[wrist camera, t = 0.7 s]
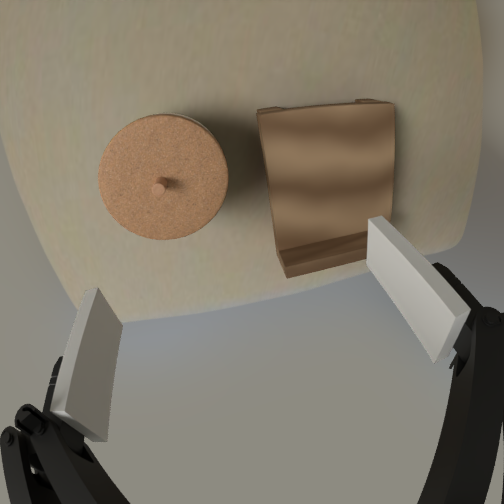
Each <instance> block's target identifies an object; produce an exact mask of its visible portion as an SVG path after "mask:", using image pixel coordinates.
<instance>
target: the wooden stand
mask: <svg viewBox="0 0 504 504" xmlns="http://www.w3.org/2000/svg"><path fill="white" fill-rule="evenodd" d="M355 101H356V103H340V104H327V105H315V106H305V107H297V108H288V109H281V108H278V107H270V108H263V109H257V113H256V114H257V121H258V127H259V133H260V140H261V146H262V153H263V159H264V166H265V173H266V179H267V186H268V193H269V200H270V207H271V215H272V222H273V229H274V237H275V244H276V252H277V256H278V258H279V261H280V263H281V266H282V268H283V271H284V273H285V275H286V278H291V277H295V276H300V275H304V274H308V273H312V272H316V271H320V270H324V269H328V268H332V267H336V266H340V265H344V264H348V263H352V262H356V261H359V260H363V259H367V242H368V219H370V218H374V217H378V216H383V217H384V218H385V219H386V220H387V221H388V222H389V223H390V221H391V211H392V198H393V183H394V160H395V110H394V104H393V103H389V102H381V101H377V100H373V99H355Z"/></svg>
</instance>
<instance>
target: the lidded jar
mask: <svg viewBox="0 0 504 504" xmlns="http://www.w3.org/2000/svg"><path fill="white" fill-rule="evenodd" d="M228 181H229V175H228V166H227V162H226V158H225V155H224V153H223V150H222V148H221V146H220V145H219V143H218V142H217V140H216V139H215V137H214V136H213V135H212V133H211V132H210V131H209V130H208V129H207V128H206V127H205V126H203V125H202V124H201V123H200V122H198V121H196V120H194V119H192V118H190V117H187V116H185V115H181V114H176V113H159V114H153V115H150V116H146V117H143V118H140V119H138V120H136V121H134V122H132V123H130V124H128V125H127V126H126V127H124V128H123V129H122V130H120V131H119V132H118V133H117V134H116V135H115V136H114V137H113V138H112V140H111V141H110V143H109V144H108V146H107V147H106V149H105V151H104V153H103V155H102V158H101V162H100V165H99V173H98V182H99V189H100V194H101V197H102V200H103V202H104V204H105V206H106V208H107V209H108V211H109V213H110V214H111V215H112V216H113V218H114V219H115V220H116V221H117V222H118V223H119V224H121V225H122V226H123V227H124V228H126V229H127V230H129V231H131V232H133V233H135V234H137V235H139V236H143V237H146V238H150V239H156V240H169V239H177V238H181V237H184V236H187V235H189V234H192V233H194V232H196V231H197V230H199V229H201V228H202V227H204V226H205V225H206V224H207V223H209V222H210V221H211V219H212V218H213V217H214V216H215V215H216V214H217V212H218V211H219V209H220V208H221V206H222V204H223V202H224V199H225V196H226V193H227V189H228Z"/></svg>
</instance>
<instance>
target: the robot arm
mask: <svg viewBox="0 0 504 504" xmlns="http://www.w3.org/2000/svg"><path fill="white" fill-rule="evenodd" d="M366 265H367V267H368V268H369V269H370V271H371V272H372V273H373V275H374V276H375V277H376V279H377V280H378V281H379V283H380V284H381V285H382V287H383V288H384V290H385V291H386V292H387V294H388V295H389V297H390V298H391V299H392V301H393V302H394V304H395V305H396V307H397V308H398V309H399V311H400V312H401V314H402V315H403V316H404V318H405V319H406V321H407V323H408V324H409V325H410V327H411V328H412V330H413V331H414V333H415V335H416V336H417V338H418V339H419V341H420V342H421V344H422V345H423V347H424V348H425V350H426V352H427V353H428V354H429V356H430V358H431V359H432V361H433V363H436V362H438V361H440V360H442V359H444V358H446V357H448V356H449V354H450V352H451V350H452V348H454V349H455V350H456V352H457V354H456V355H455V357H454V359H453V361H452V363H451V364H450V367H449V368H450V369H452V367H453V365H454V369H453V376H452V383H451V389H450V394H449V399H448V405H447V409H446V414H445V418H444V423H443V427H442V431H441V435H440V439H439V442H438V446H437V449H436V453H435V456H434V459H433V462H432V465H431V468H430V471H429V474H428V477H427V480H426V483H425V485H424V488H423V491H422V493H421V496H420V498H419V501H418V503H417V504H484V502H485V499H486V496H487V492H488V489H489V485H490V482H491V478H492V473H493V470H494V466H495V461H496V456H497V451H498V446H499V440H500V433H501V427H502V422H503V436H504V313H500V312H499V311H497V310H496V309H494V308H491V307H483V306H482V305H481V304H480V303H479V302H478V301H477V300H476V298H475V297H474V296H473V295H472V294H471V293H470V291H469V290H468V289H467V288H466V287H465V286H464V285H463V284H461V282H460V280H458V278H456V277H455V275H454V274H453V273H452V272H451V271H450V270H449V269H448V268H447V267H445V266H443V265H442V264H440V263H438V262H437V263H434V264H432V265H431V264H430V263H429V262H428V261H427V260H426V259H425V258H424V256H423V255H422V254H421V253H420V252H419V251H418V250H417V249H416V248H415V247H414V246H413V245H412V244H411V243H410V242H409V241H408V240H407V239H406V238H405V237H404V236H403V235H402V234H401V233H400V232H399V231H398V230H397V229H396V228H394V227H393V226H392V225H391V224H390V223H389V222H388V221H387V220H386V219H385V218H384V217H383V216H378V217H374V218H370V219H368V242H367V262H366ZM122 327H123V325H122V324H121V322H120V321H119V319H118V318H117V316H116V315H115V313H114V312H113V310H112V309H111V307H110V306H109V304H108V302H107V301H106V299H105V298H104V296H103V294H102V293H101V291H100V290H99V288H98V287H97V288H93V289H89V290H86V291H85V294H84V296H83V299H82V302H81V304H80V307H79V310H78V313H77V316H76V319H75V321H74V325H73V328H72V331H71V333H70V337H69V340H68V343H67V346H66V349H65V353H64V356H62V357H59V359H58V361H57V362H56V364H55V365H54V368H53V372H52V378H51V379H50V383H49V384H50V386H49V387H48V391H47V395H46V399H45V403H44V407H43V412H40V411H39V410H38V409H37V408H35V407H34V406H33V405H31V404H25V405H23V406H22V407H21V408H20V409H19V410H18V411H17V414H16V416H15V427H16V428H18V429H20V430H21V431H18V430H17V429H15V428H14V427H11V426H9V427H7V428H5V429H4V430H3V432H2V434H1V438H0V447H1V455H2V462H3V468H4V475H5V480H6V485H7V490H8V494H9V498H10V502H11V504H130V503H129V502H128V500H127V499H126V498H125V497H124V495H123V494H122V493H121V492H120V490H119V489H118V488H117V487H116V485H115V484H114V483H113V481H112V480H111V479H110V477H109V476H108V474H107V473H106V472H105V470H104V469H103V468H102V466H101V465H100V463H99V462H98V460H97V459H96V457H95V456H94V454H93V453H92V451H91V450H90V448H89V447H88V445H87V444H86V443H84V436H85V437H87V438H88V439H90V440H91V441H93V442H107V439H108V426H109V416H110V406H111V397H112V390H113V382H114V375H115V368H116V362H117V356H118V350H119V344H120V338H121V333H122ZM503 439H504V437H503ZM31 467H32V468H34V470H35V474H33V473H32V471H31ZM501 504H504V476H503V493H502V502H501Z"/></svg>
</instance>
